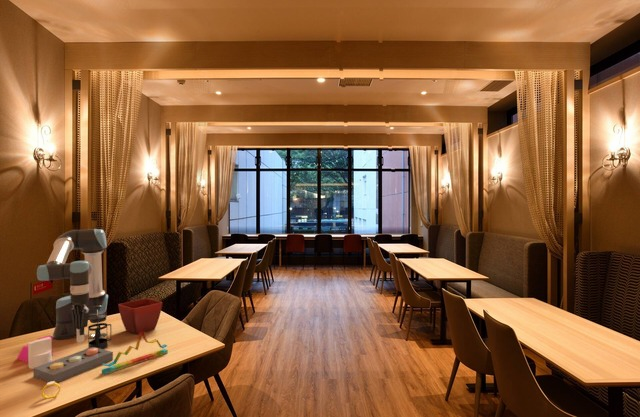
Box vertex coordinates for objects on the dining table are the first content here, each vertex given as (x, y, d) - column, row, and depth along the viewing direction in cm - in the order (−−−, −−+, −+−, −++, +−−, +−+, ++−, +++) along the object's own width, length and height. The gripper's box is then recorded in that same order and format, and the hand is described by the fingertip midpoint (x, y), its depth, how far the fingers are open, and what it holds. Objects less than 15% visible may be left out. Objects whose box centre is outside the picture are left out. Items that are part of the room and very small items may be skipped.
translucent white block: (33, 370, 169) (32, 345, 169) (25, 366, 174) (24, 341, 174) (55, 363, 177) (54, 339, 176) (47, 359, 181) (46, 335, 181)
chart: (104, 375, 163) (104, 343, 163) (101, 373, 165) (101, 341, 165) (167, 353, 187) (167, 325, 187) (164, 352, 189) (164, 324, 189)
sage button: (66, 365, 170) (66, 359, 170) (77, 361, 174) (77, 355, 174) (72, 367, 168) (72, 360, 167) (83, 363, 172) (83, 356, 172)
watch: (41, 401, 142) (40, 386, 142) (43, 398, 144) (41, 383, 144) (60, 396, 145) (58, 381, 145) (61, 393, 147) (59, 379, 147)
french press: (85, 352, 189) (84, 309, 189) (87, 346, 198) (86, 305, 198) (111, 348, 195) (110, 306, 195) (111, 342, 203) (111, 302, 203)
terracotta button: (83, 356, 177) (83, 350, 177) (93, 353, 181) (93, 347, 181) (90, 358, 175) (89, 352, 175) (100, 354, 179) (100, 348, 179)
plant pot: (147, 322, 237) (147, 297, 237) (163, 328, 226) (163, 301, 226) (117, 331, 222) (117, 304, 222) (133, 337, 211) (132, 309, 211)
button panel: (33, 376, 162) (33, 368, 162) (93, 354, 186) (93, 346, 186) (53, 384, 155) (53, 374, 155) (112, 359, 180) (112, 351, 179)
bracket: (52, 355, 186) (52, 336, 186) (29, 363, 177) (28, 342, 177) (40, 351, 191) (40, 332, 191) (17, 358, 182) (17, 338, 182)
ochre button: (47, 372, 162) (47, 365, 162) (59, 367, 167) (59, 361, 167) (53, 374, 160) (53, 367, 160) (65, 369, 165) (65, 363, 165)
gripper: (63, 293, 173) (64, 341, 173) (79, 296, 167) (80, 346, 167) (80, 289, 179) (80, 336, 180) (95, 292, 173) (96, 340, 174)
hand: (80, 341), depth 173 cm, fingers closed
